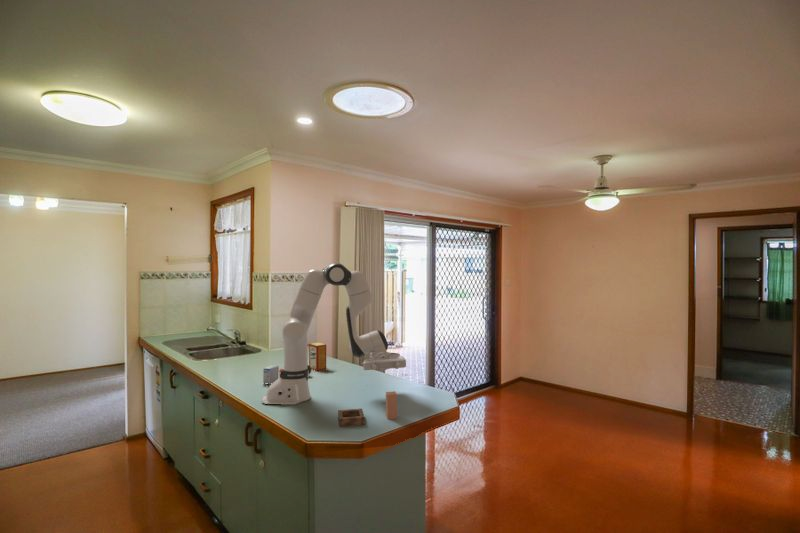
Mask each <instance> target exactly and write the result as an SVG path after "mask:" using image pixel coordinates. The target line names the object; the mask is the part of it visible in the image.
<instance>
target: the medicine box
mask: <svg viewBox="0 0 800 533" xmlns="http://www.w3.org/2000/svg"><path fill="white" fill-rule="evenodd" d="M279 367H280V366H279V365H274V364H273V365H269V366H266V367H264V368H263V370H262V371H263V375H262V376H263V380H262V381H263V383H268V384H271V383H273V382H275V381H276V380H277V379H278V378H279V377H280V375H279V374H280V372H279V370H280V368H279Z"/></svg>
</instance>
